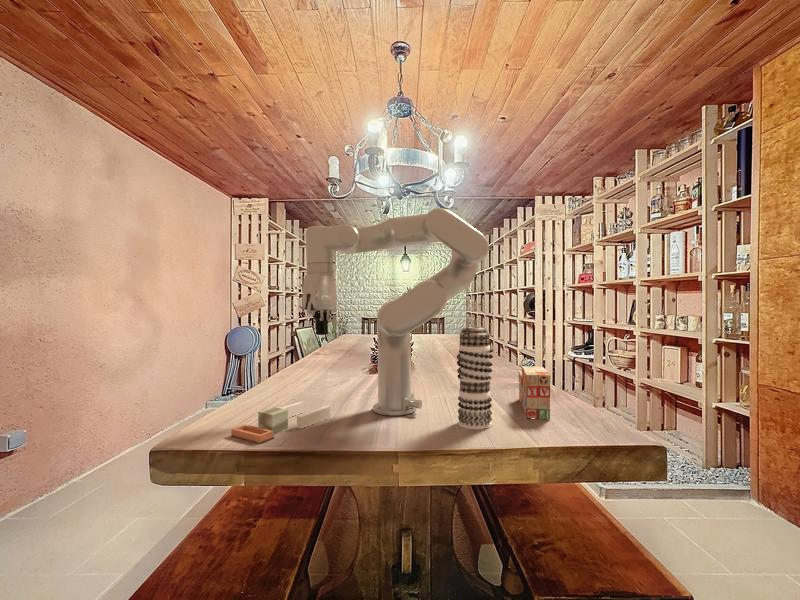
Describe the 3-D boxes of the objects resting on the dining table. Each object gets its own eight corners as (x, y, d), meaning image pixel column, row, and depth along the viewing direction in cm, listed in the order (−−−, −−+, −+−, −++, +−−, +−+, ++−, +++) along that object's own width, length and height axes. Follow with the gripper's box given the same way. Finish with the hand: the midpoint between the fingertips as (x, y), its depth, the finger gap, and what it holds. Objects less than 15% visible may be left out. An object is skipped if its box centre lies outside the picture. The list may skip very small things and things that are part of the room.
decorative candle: (499, 428, 104) (498, 328, 104) (463, 431, 103) (462, 329, 102) (485, 418, 113) (485, 325, 113) (452, 420, 112) (452, 326, 111)
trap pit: (273, 438, 99) (273, 431, 98) (260, 443, 95) (259, 436, 95) (245, 431, 104) (245, 424, 104) (231, 436, 100) (231, 428, 100)
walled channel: (330, 417, 115) (330, 406, 115) (301, 428, 105) (301, 417, 105) (300, 411, 121) (300, 401, 121) (270, 422, 111) (270, 410, 111)
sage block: (288, 429, 105) (287, 409, 105) (272, 435, 101) (272, 414, 101) (274, 426, 108) (273, 407, 108) (258, 432, 104) (258, 411, 104)
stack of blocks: (518, 399, 133) (518, 360, 133) (539, 400, 132) (539, 361, 132) (526, 419, 112) (526, 373, 112) (550, 420, 111) (550, 374, 111)
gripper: (327, 271, 128) (328, 331, 128) (291, 270, 115) (293, 336, 115) (346, 270, 124) (348, 332, 124) (312, 268, 111) (314, 337, 111)
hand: (322, 334), depth 120 cm, fingers closed
